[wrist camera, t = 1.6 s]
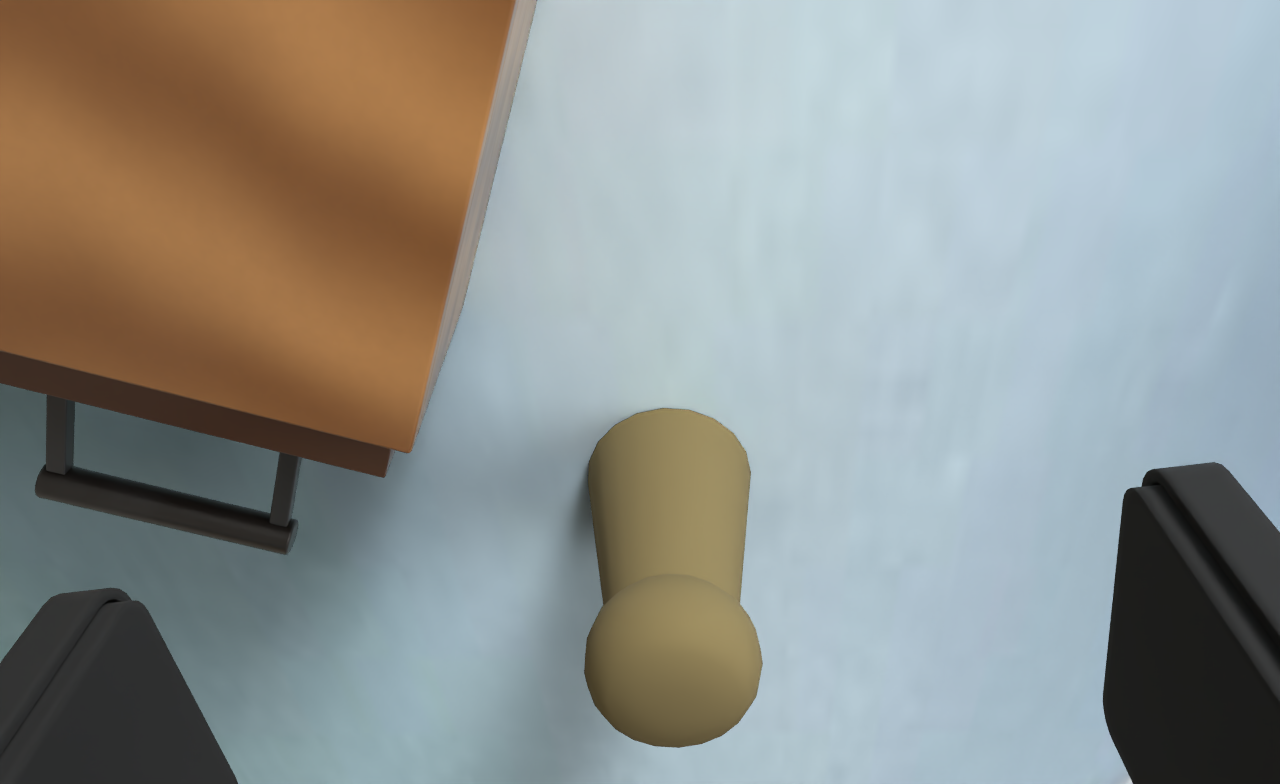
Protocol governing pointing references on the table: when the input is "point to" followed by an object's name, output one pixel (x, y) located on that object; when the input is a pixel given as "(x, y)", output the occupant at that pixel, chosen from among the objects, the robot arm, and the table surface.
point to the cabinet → (252, 195)
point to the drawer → (138, 401)
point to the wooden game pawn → (671, 580)
